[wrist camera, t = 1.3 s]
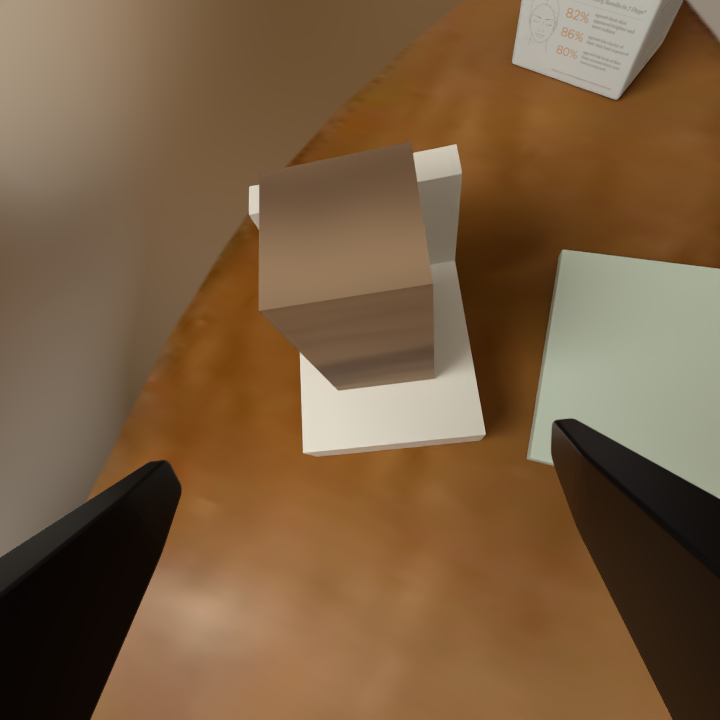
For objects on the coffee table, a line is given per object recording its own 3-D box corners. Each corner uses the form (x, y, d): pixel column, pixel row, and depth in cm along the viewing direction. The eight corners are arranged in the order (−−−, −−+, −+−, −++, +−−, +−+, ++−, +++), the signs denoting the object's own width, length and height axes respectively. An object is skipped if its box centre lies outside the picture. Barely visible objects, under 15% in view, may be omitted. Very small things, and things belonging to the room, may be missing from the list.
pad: (758, 516, 18) (771, 517, 17) (526, 459, 21) (529, 458, 20) (760, 283, 21) (772, 275, 20) (558, 256, 24) (562, 249, 23)
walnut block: (434, 379, 20) (433, 283, 11) (337, 390, 21) (258, 310, 12) (421, 290, 22) (411, 141, 12) (332, 304, 23) (259, 173, 13)
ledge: (480, 440, 21) (509, 408, 13) (316, 456, 23) (246, 437, 14) (449, 261, 25) (456, 144, 16) (309, 284, 26) (249, 186, 18)
